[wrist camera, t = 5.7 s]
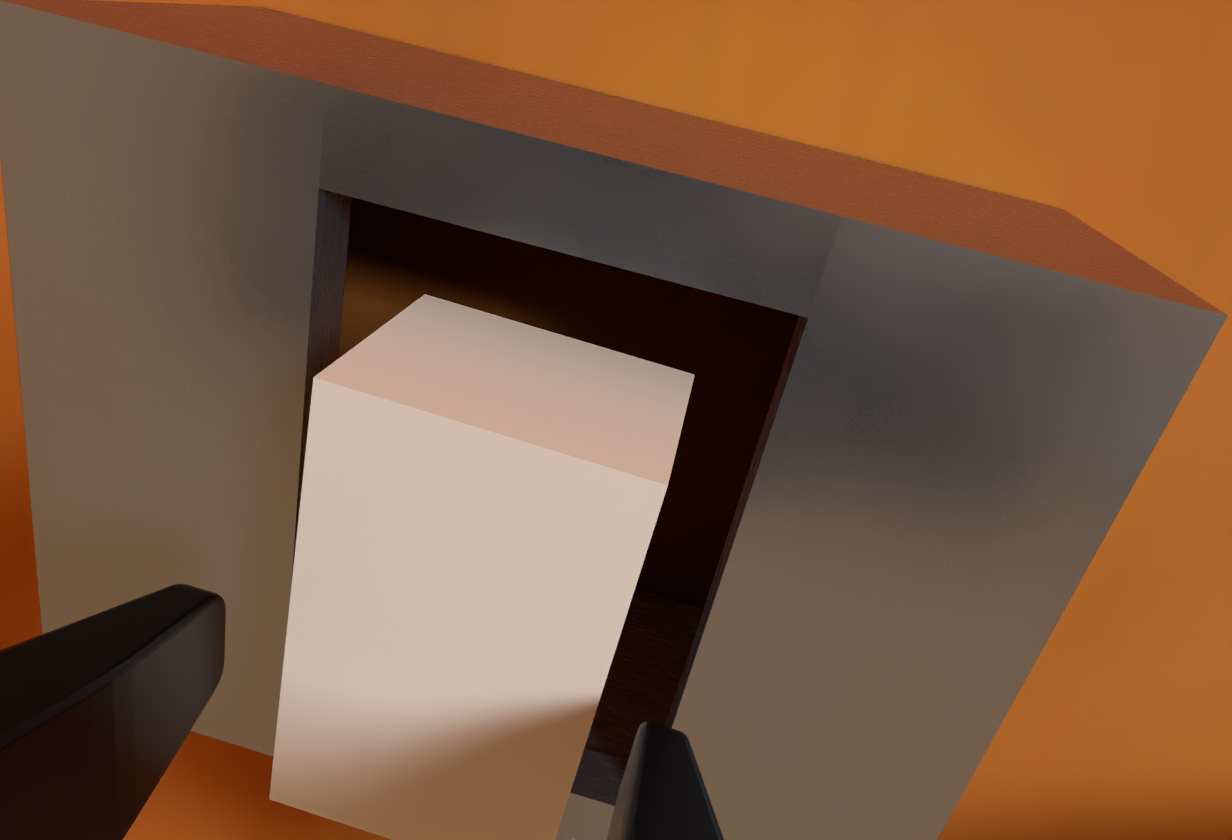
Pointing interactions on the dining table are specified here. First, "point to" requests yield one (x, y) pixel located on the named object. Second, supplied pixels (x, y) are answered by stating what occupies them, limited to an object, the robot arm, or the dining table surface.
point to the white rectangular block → (464, 570)
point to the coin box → (617, 236)
